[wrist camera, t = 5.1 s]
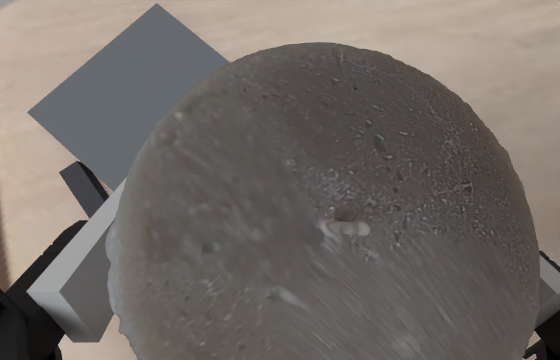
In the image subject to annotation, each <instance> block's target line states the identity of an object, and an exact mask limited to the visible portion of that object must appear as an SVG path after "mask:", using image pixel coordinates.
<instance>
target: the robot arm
mask: <svg viewBox="0 0 560 360" xmlns="http://www.w3.org/2000/svg"><path fill="white" fill-rule="evenodd" d="M126 178H127V177H126ZM126 178H125V180H124V181H123V182H122V183H121V184H120V185H119V186H118V188H117V189H116V190H115V191H114V192H113V193H112V194H111V196H110V197H109V198H108V199H107V200H106V201H105V202H104V203H103V205H102V206H101V207H100V208H99V209H98V210H97V211H96V213H95V214H94V215H93V216H92V217H91V218H90V219H89V221H88V220H79V221H78V222H76V223H75V224H73V225H72V226H70V227H69V228H67V229H66V230H64V231H63V232H62V233H61V234H60V235H59V236H58V238H57V239H56V240H55V241H54V242H53V245H50V246H49V247H48V248H47V249H46V250H45V251H44V252H43V255H40V256H39V258H38V259H37V260H36V261H35V262H34V263H33V264H32V265H31V266H30V267H29V268H28V269H27V270H26V271H25V272H24V273H23V274H22V275H21V277H20V278H19V279H18V280H17V281H16V282H15V283H14V284H13V285H12V286H11V287H10V288H9V289H8V290H7V291H6V293H4V292H3V291H2V290H1V289H0V360H62V354H61V350H60V348H59V347H58V344H59V342H60V341H61V339H62V337H63V336H64V334H66V335H67V336H68V337H69V338H70V339H71V341H72V342H99V341H100V339H101V338H102V336H103V334H104V332H105V330H106V328H107V326H108V324H109V322H110V320H111V318H112V316H113V315H114V313H113V311H112V309H111V305H110V304H109V292H108V288H107V281H108V271H109V270H110V267H111V265H110V264H111V262H110V260H109V259H108V258H107V257H106V254H107V253H106V249H105V242H106V235H107V234H108V233H109V231H110V230H109V228H110V226H111V225H112V224H113V223H114V220H115V217H116V212H117V210H118V207H119V201H120V197H121V193H122V192H123V190H124V185H125V182H126ZM538 249H539V248H538ZM539 253H540V285H539V299H540V308H539V314H538V318H537V321H536V325H535V330H534V331H535V332H536V333H537V334H538V335H539V337H540V338H541V340H539V341H538V342H536V343H535V344H534V345H532V346H531V347H529V348H528V349H527V350H526V351H525V354H524V356H523V358H524V359H527V358H529V357H530V356H532V355H533V354H536V357H537V359H535V360H560V267H559V266H558V265H557V264H556V263H555V262H553V261H552V260H549V257H548V256H547V255H546V254H544V253H543V252H542V251H539Z"/></svg>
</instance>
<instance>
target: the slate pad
mask: <svg viewBox="0 0 560 360" xmlns="http://www.w3.org/2000/svg"><path fill="white" fill-rule="evenodd" d="M227 64H230V62H229V61H227V60H226V59H225V58H224V57H222V56H221V55H220V54H219V53H217V52H216V51H215V50H214V49H213V48H211V47H210V46H209V45H208V44H206V43H205V42H204V41H203V40H201V39H200V38H199V37H198V36H197V35H195V34H194V33H193V32H192V31H190V30H189V29H188V28H187V27H185V26H184V25H183V24H182V23H180V22H179V21H178V20H177V19H176V18H174V17H173V16H172V15H171V14H169V13H168V12H167V11H166V10H164V9H163V8H162V7H161V6H160V5H158V4H157V3H156V4H155V5H154V6H153V7H152V8H150V9H149V10H148V11H147V12H146V13H144V14H143V15H142V16H141V17H140V18H139V19H137V20H136V21H135V22H134V23H133V24H131V25H130V26H129V27H128V28H127V29H125V30H124V31H123V32H122V33H121V34H120V35H118V36H117V37H116V38H115V39H114V40H112V41H111V42H110V43H109V44H108V45H106V46H105V47H104V48H103V49H102V50H101V51H99V52H98V53H97V54H96V55H95V56H93V57H92V58H91V59H90V60H89V61H87V62H86V63H85V64H84V65H83V66H82V67H80V68H79V69H78V70H77V71H76V72H74V73H73V74H72V75H71V76H70V77H68V78H67V79H66V80H65V81H64V82H63V83H61V84H60V85H59V86H58V87H57V88H55V89H54V90H53V91H52V92H51V93H49V94H48V95H47V96H46V97H45V98H44V99H42V100H41V101H40V102H39V103H38V104H36V105H35V106H34V107H33V108H32V109H30V110H29V111H28V112H27V113H28V114H29V115H30V116H32V117H33V118H34V119H35V120H36V121H37V122H38V123H39V124H40V125H41V126H43V127H44V128H45V129H46V130H47V131H48V132H49V133H50V134H51V135H52V136H54V137H55V138H56V139H57V140H58V141H59V142H60V143H61V144H62V145H63V146H65V147H66V148H67V149H68V150H69V151H70V152H71V153H72V154H73V155H74V156H76V157H77V158H78V159H79V160H80V161H81V162H82V163H83V164H84V165H85V166H86V167H88V168H89V169H90V170H91V171H92V172H93V173H94V174H95V175H96V176H97V177H99V178H100V179H101V180H102V181H103V182H104V183H105V184H106V185H107V186H108V187H110V188H111V189H112V190H113V191H115V190H116V189H117V188H118V186H119V185H120V184H121V183H122V182H123V181H124V180H125V178H126V177H127V175H128V172H129V170H130V168H131V167H132V165H133V162H134V160H135V159H136V156H137V153H138V151H139V150H140V149H141V148H142V146H143V144H144V143H145V141H146V140H147V139H148V137H149V135H150V133H151V132H152V131H153V130H154V128H155V126H156V124H157V122H158V121H160V120H161V118H162V117H163V116H164V115H166V113H167V112H168V110H170V108H171V107H172V106H173V105H174V104H175V103H176V102H177V101H178V99H180V98H181V97H182V95H183V94H184V93H185V92H186V91H187V90H188V89H190V88H191V87H192V86H193V85H195V84H196V83H198V82H199V81H200V80H202V79H204V78H206V77H207V76H209V75H210V74H212V73H214V72H215V71H217V70H218V69H220V68H222V67H224V66H225V65H227Z"/></svg>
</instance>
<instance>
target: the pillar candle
mask: <svg viewBox="0 0 560 360" xmlns="http://www.w3.org/2000/svg"><path fill="white" fill-rule="evenodd" d="M109 230H110V231H109V233H108V234H107V235H106V242H105V249H106V253H107V254H106V257H107V258H108V259H109V260H110V262H111V264H110V265H111V267H110V270H109V271H108V281H107V288H108V292H109V304H110V305H111V309H112V311H113V313H115V314H116V315H117V316H118V317H119V318H120V325H119V332H120V333H121V334H124V335H125V336H126V337H127V339H128V340H129V342H130V346H131V348H132V349H133V351H134V353H135V354H136V356H137V360H522V358H523V356H524V354H525V351H526V349H527V346H528V342H529V339H530V338H531V336H532V333H533V331H534V330H535V325H536V321H537V318H538V314H539V308H540V299H539V285H540V253H539V249H538V243H537V239H536V234H535V229H534V224H533V219H532V215H531V212H530V208H529V205H528V203H527V201H526V197H525V193H524V189H523V186H522V183H521V181H520V179H519V177H518V175H517V174H516V172H515V171H514V169H513V166H512V164H511V160H510V158H509V155H508V153H507V151H506V150H505V149H504V148H503V147H501V146H500V144H499V143H498V140H497V139H496V138H495V136H494V135H493V133H492V132H491V131H490V130H489V129H488V128H487V127H486V126H485V125H484V123H483V122H482V120H480V119H479V117H478V116H477V115H476V114H475V112H474V111H473V110H472V108H471V107H470V106H469V105H468V104H467V103H465V102H463V101H462V99H461V98H460V97H459V96H458V95H457V94H455V93H454V92H452V91H450V90H449V89H447V88H446V87H445V86H444V85H442V84H441V83H440V82H439V81H437V80H435V79H434V78H433V77H431V76H430V75H428V74H425V73H423V72H421V71H420V70H418V69H416V68H414V67H411V66H409V65H406V64H405V63H403V62H401V61H399V60H396V59H394V58H392V57H391V56H390V55H387V54H383V53H381V52H377V51H371V50H367V49H358V48H355V47H352V46H347V45H342V44H336V43H322V42H318V43H302V44H289V45H283V46H279V47H276V48H271V49H266V50H260V51H258V52H256V53H252V54H250V55H246V56H244V57H243V58H240V59H238V60H236V61H234V62H231V63H230V64H227V65H225V66H224V67H222V68H220V69H218V70H217V71H215V72H214V73H212V74H210V75H209V76H207V77H206V78H204V79H202V80H200V81H199V82H198V83H196V84H195V85H193V86H192V87H191V88H190V89H188V90H187V91H186V92H185V93H184V94H183V95H182V97H181V98H180V99H178V101H177V102H176V103H175V104H174V105H173V106H172V107H171V108H170V110H168V112H167V113H166V115H164V116H163V117H162V118H161V120H160V121H158V122H157V124H156V126H155V128H154V130H153V131H152V132H151V133H150V135H149V137H148V139H147V140H146V141H145V143H144V144H143V146H142V148H141V149H140V150H139V151H138V153H137V156H136V159H135V160H134V162H133V165H132V167H131V168H130V170H129V172H128V175H127V178H126V182H125V185H124V190H123V192H122V193H121V197H120V201H119V207H118V210H117V212H116V217H115V220H114V223H113V224H112V225H111V226H110V228H109Z"/></svg>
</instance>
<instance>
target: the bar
mask: <svg viewBox="0 0 560 360" xmlns="http://www.w3.org/2000/svg"><path fill="white" fill-rule="evenodd" d="M59 173H60V175H61V176H62V178H63V179H64V181H65V182H66V184H67V185H68V187H69V188H70V190H71V191H72V193H73V194H74V196H75V197H76V199H77V200H78V202H79V203H80V205H81V206H82V208H83V209H84V211H85V212H86V214H87V215H88V217H89V218H91V217H92V216H93V215H94V214H95V213H96V211H97V210H98V209H99V208H100V207H101V206H102V205H103V203H104V202H105V201H106V200H107V199H108V198H109V196H108V194H107V193H106V191H105V190H104V188H103V187H102V186H101V184H100V183H99V181H98V180H97V178H96V177H95V175H94V174H93V172H92V171H91V170H90V169H89V168H88V167H86V166H85V165H84V164H83V163H81V162H78V161H76V162H74V163H73V164H71V165H70V166H68V167H67V168H65V169H64V170H62V171H61V172H59Z"/></svg>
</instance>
